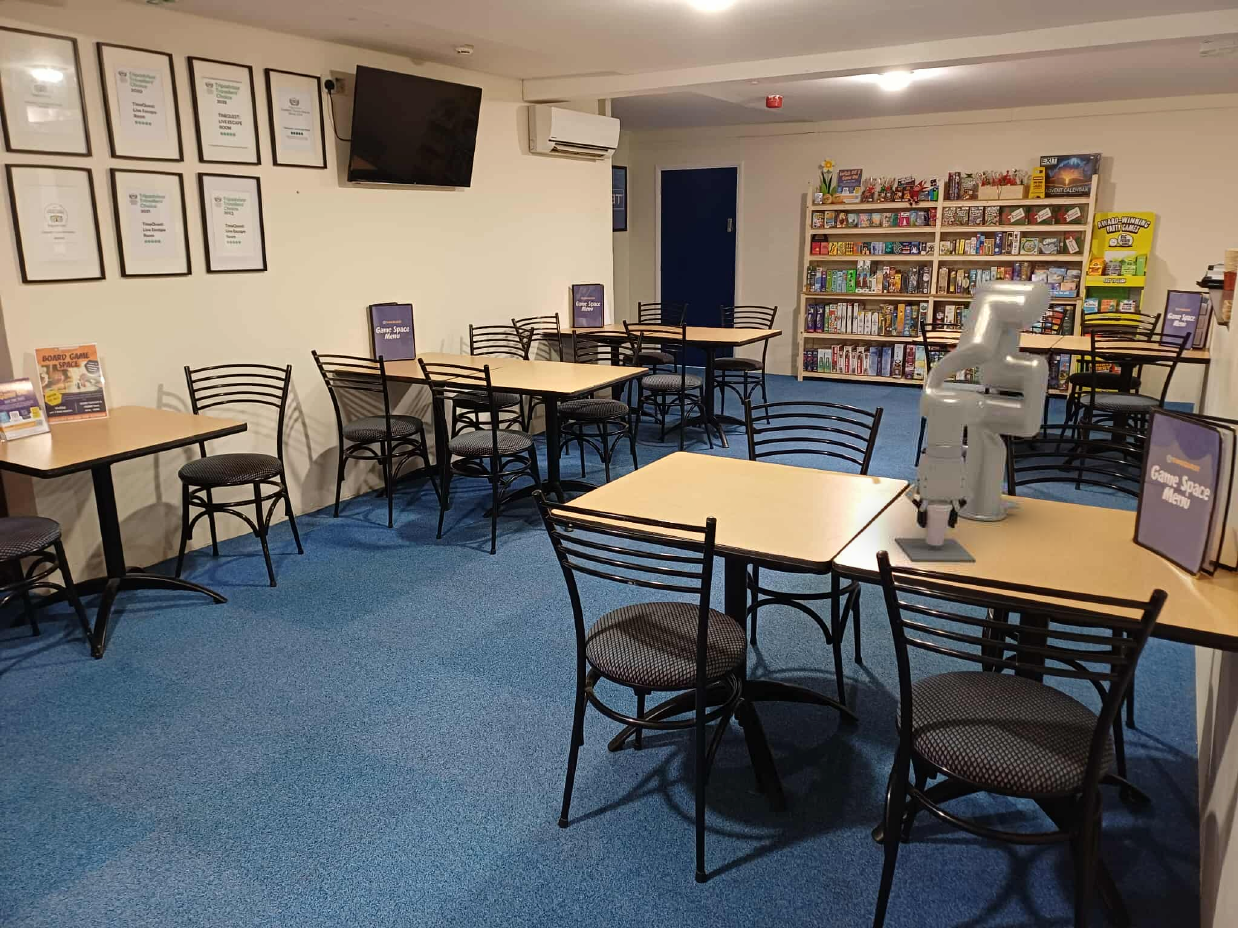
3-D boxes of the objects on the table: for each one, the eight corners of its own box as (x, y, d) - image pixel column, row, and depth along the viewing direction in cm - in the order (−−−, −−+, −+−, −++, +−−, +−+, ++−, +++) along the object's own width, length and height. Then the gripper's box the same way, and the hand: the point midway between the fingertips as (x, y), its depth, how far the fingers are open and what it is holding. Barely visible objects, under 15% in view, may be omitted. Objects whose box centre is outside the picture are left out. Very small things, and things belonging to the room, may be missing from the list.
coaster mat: (953, 540, 206) (953, 538, 206) (975, 562, 193) (975, 559, 193) (894, 540, 207) (894, 538, 207) (912, 561, 193) (912, 559, 193)
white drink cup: (915, 538, 202) (919, 481, 199) (941, 537, 203) (946, 480, 199) (927, 548, 196) (931, 489, 193) (954, 546, 197) (959, 487, 193)
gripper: (976, 446, 197) (968, 521, 202) (900, 446, 198) (893, 521, 202) (988, 454, 190) (980, 532, 195) (909, 454, 190) (903, 531, 195)
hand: (936, 525), depth 198 cm, fingers closed on white drink cup, 5 cm apart
